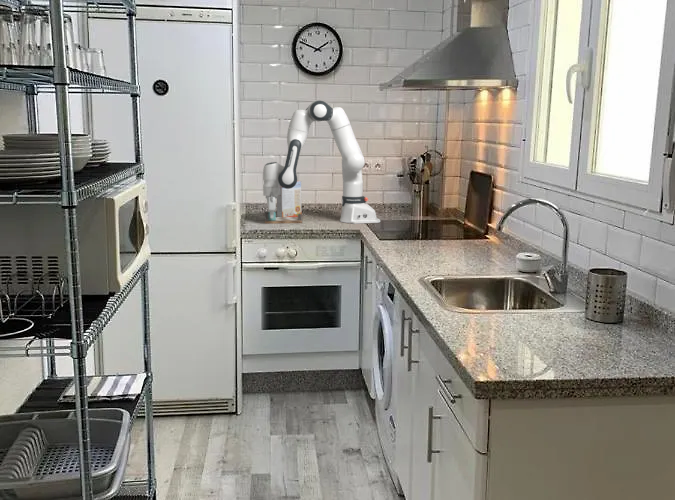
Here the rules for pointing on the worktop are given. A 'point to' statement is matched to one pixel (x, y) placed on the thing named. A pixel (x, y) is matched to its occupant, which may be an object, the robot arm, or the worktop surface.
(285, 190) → the cracker box
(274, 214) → the teal slider block
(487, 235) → the worktop surface
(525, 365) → the worktop surface
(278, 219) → the track
